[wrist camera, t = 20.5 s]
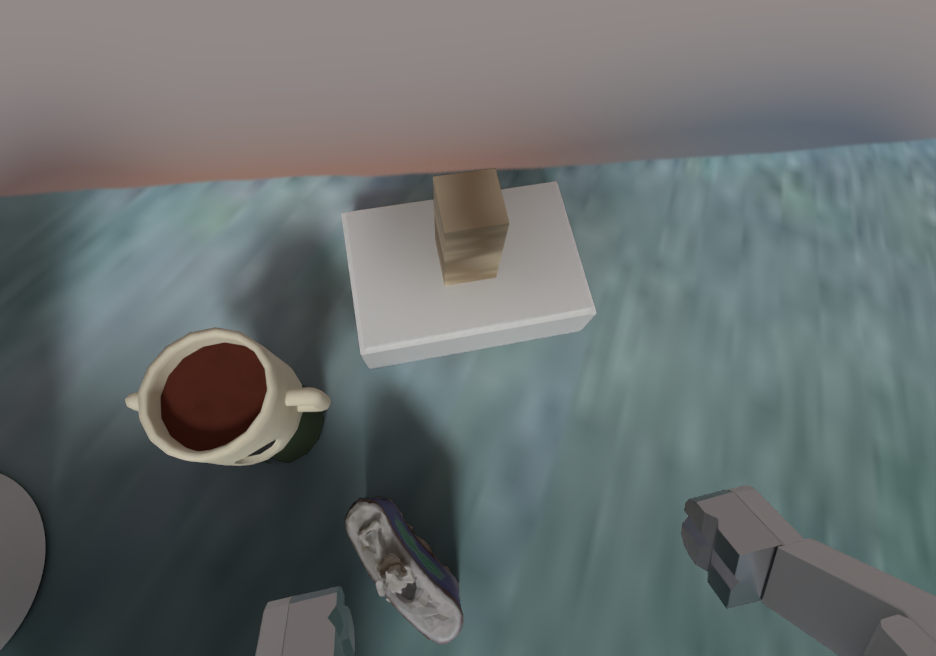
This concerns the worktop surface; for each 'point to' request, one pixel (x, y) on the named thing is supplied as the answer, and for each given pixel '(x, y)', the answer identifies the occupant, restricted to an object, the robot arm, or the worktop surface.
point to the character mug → (227, 402)
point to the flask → (405, 568)
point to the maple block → (469, 225)
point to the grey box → (466, 304)
